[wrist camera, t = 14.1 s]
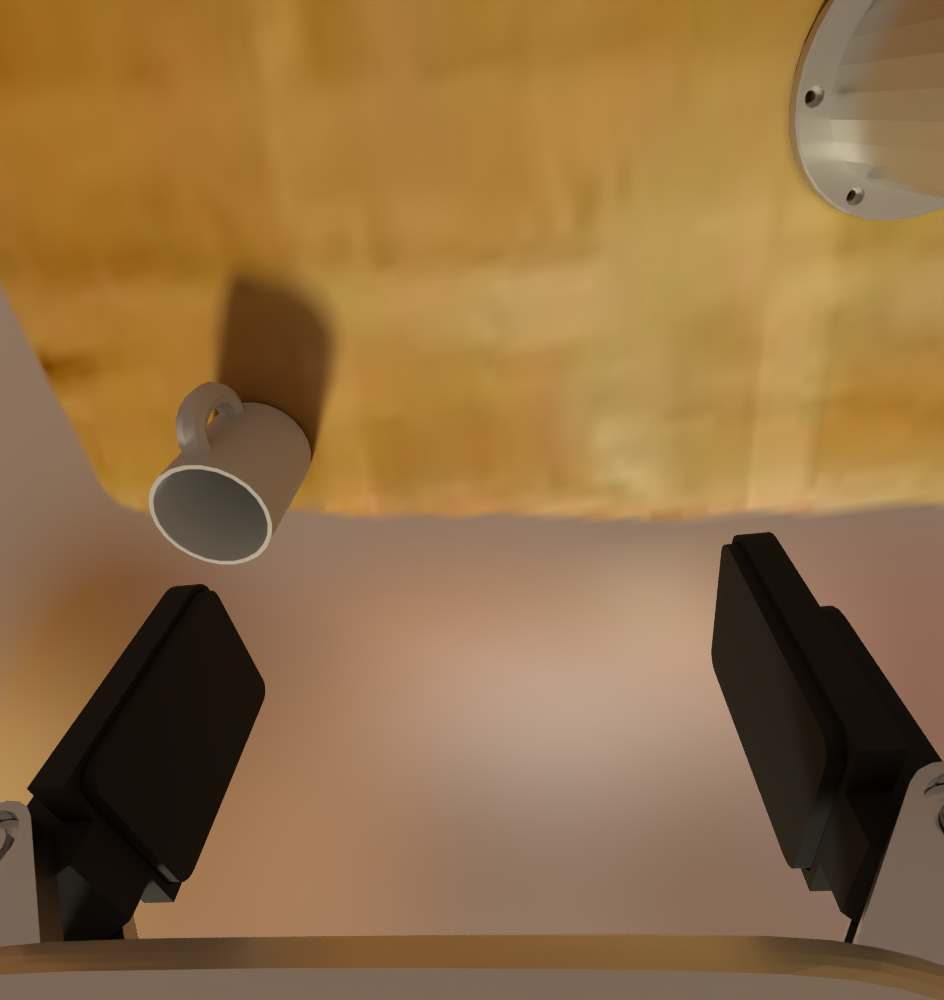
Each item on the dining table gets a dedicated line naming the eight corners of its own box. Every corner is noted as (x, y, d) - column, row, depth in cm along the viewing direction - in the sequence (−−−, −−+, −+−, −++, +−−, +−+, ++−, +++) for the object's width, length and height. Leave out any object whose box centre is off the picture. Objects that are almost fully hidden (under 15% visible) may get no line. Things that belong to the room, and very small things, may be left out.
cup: (236, 493, 44) (182, 570, 37) (177, 369, 39) (100, 430, 31) (326, 481, 43) (289, 557, 36) (278, 352, 38) (223, 411, 30)
